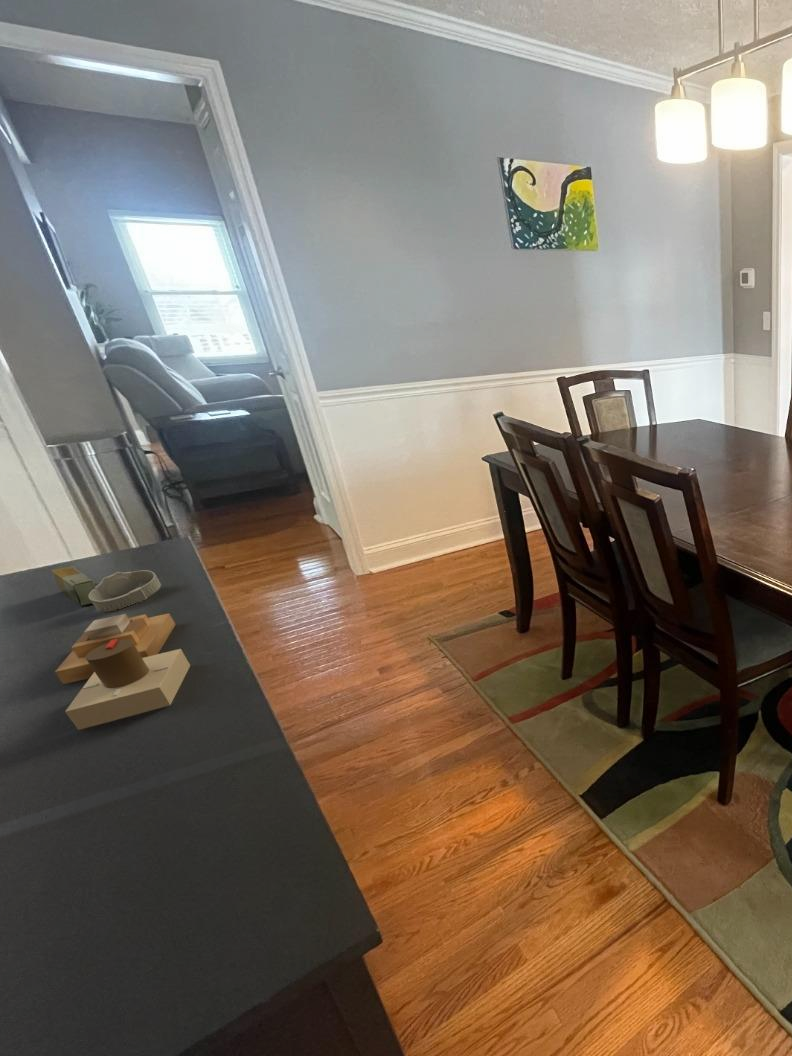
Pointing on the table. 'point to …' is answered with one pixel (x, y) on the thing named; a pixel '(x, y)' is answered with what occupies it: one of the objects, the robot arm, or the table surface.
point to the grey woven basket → (123, 590)
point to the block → (141, 632)
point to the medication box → (74, 584)
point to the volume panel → (130, 692)
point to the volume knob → (117, 663)
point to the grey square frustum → (107, 627)
